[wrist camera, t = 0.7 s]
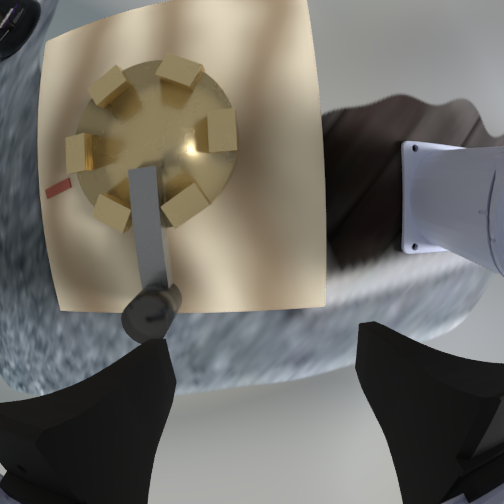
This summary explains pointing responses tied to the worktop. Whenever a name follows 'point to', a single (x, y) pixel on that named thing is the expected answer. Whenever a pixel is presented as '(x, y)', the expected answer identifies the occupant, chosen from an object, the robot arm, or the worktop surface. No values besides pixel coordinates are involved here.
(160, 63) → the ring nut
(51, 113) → the base board
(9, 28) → the supplement bottle
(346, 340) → the worktop surface
